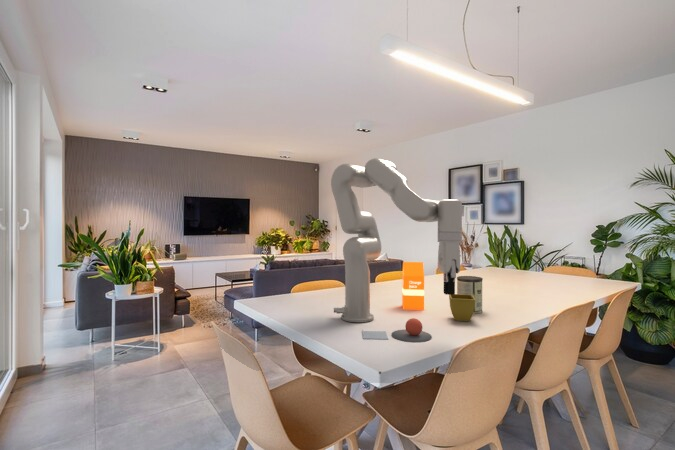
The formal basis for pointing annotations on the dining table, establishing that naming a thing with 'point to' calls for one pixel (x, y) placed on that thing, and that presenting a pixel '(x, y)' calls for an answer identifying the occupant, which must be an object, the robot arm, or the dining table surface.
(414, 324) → the ball
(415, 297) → the orange juice
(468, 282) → the coffee can
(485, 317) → the dining table surface
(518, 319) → the dining table surface
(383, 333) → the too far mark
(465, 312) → the flower pot
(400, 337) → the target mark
